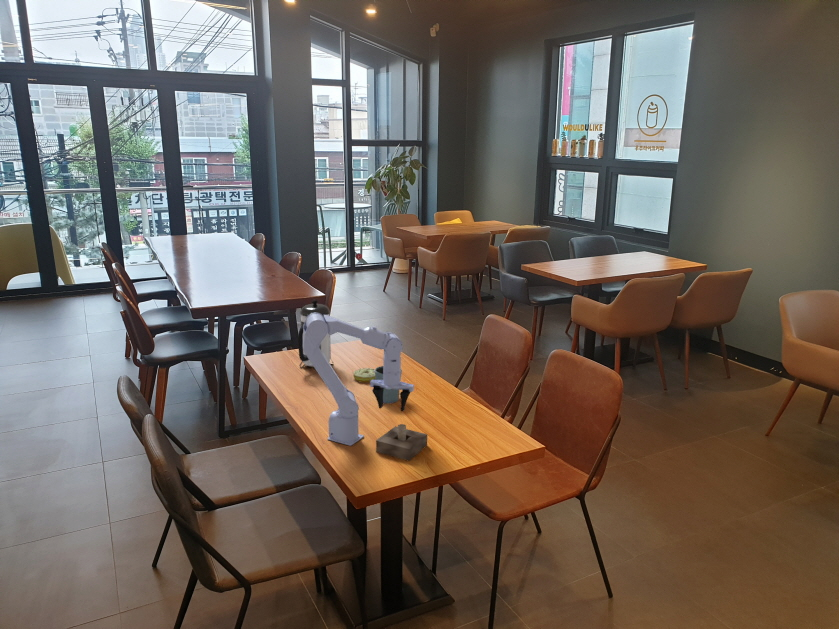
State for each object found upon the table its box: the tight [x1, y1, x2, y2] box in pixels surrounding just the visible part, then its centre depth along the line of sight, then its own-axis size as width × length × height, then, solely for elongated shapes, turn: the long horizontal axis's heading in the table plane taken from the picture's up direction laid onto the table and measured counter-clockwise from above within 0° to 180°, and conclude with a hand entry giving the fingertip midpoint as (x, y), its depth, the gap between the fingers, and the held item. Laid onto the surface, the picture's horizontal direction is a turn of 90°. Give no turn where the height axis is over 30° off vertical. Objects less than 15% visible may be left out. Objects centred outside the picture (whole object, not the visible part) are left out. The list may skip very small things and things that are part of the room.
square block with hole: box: [375, 425, 428, 462], centre depth 203 cm, size 12×12×4 cm
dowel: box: [397, 423, 407, 441], centre depth 202 cm, size 3×3×8 cm
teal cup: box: [374, 365, 403, 404], centre depth 241 cm, size 10×10×12 cm
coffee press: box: [297, 299, 334, 369], centre depth 272 cm, size 17×16×30 cm
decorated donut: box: [353, 367, 376, 384], centre depth 263 cm, size 10×11×4 cm
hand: (391, 408), depth 210 cm, fingers open, 7 cm apart
